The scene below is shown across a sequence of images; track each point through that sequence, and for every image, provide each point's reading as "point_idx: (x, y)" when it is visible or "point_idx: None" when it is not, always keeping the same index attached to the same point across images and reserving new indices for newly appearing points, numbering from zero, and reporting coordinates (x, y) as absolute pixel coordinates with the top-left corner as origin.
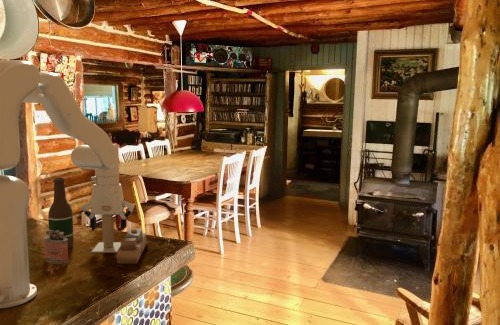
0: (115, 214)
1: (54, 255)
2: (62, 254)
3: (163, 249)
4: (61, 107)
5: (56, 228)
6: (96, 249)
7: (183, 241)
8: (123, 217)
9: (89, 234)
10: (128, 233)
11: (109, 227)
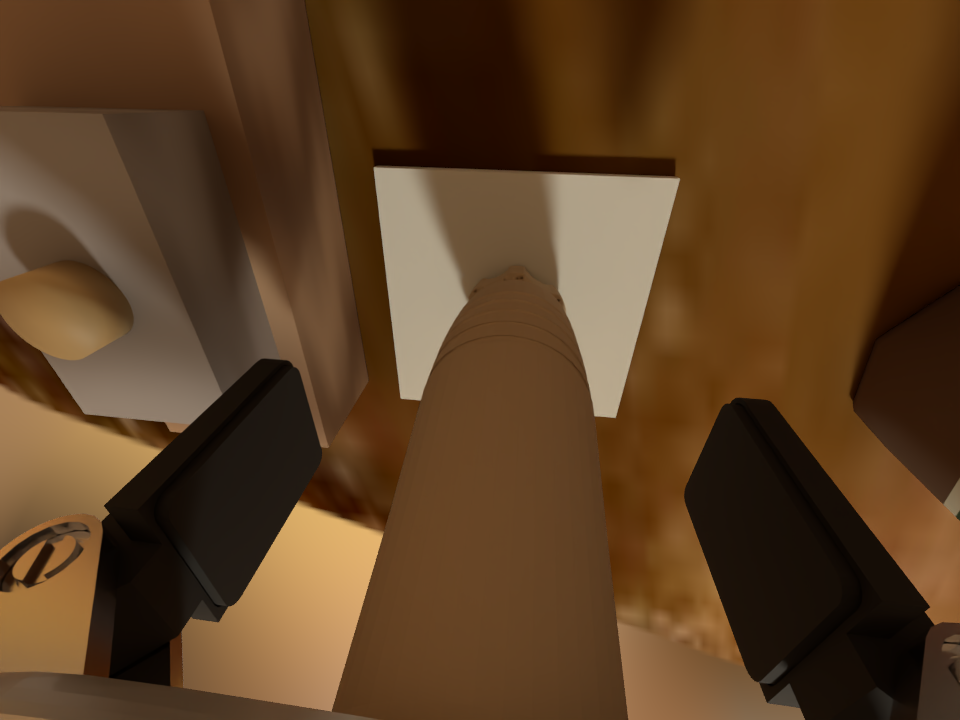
0: (51, 686)
1: None
2: None
3: None
4: None
5: None
6: (628, 239)
7: (17, 388)
8: (51, 562)
9: (694, 562)
10: (124, 237)
11: (453, 397)
